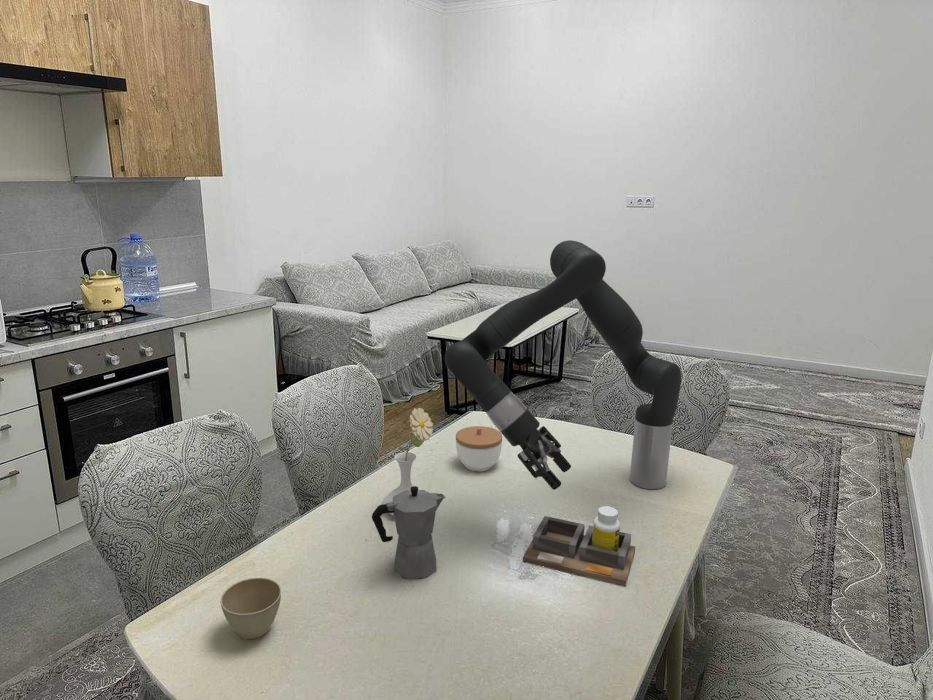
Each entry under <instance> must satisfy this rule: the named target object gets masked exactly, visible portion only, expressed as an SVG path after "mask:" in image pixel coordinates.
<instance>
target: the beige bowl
mask: <svg viewBox="0 0 933 700" xmlns="http://www.w3.org/2000/svg"><path fill="white" fill-rule="evenodd" d="M281 598H282V588H281V586H280V584H279V583H278V582H277V581H275V580H274V579H272V578H266V577H251V578H246V579H243V580H239V581H237V582H235V583H234V584H232V585H229V587H227V588H226V589H225V590H224V591H223V593H222V595H221V597H220V607H221V610H222V613H223V615H224V617H225V619H226V621H227V623H228V625H229V626H230V627H231V629H232V630H233V631H234V632H235V633H236V634H237V635H238V636H239V637H241V638H242V639H246V640H255V639H258V638H261V637H263V636H264V635H265V634H266V633H268V631H269V630H270V628H271V626H272V624H273V623H274V621H275V619H276V617H277V614H278V611H279V607H280V603H281Z"/></svg>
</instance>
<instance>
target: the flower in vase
mask: <svg viewBox="0 0 933 700" xmlns="http://www.w3.org/2000/svg"><path fill="white" fill-rule="evenodd" d="M409 423H410V428H411V433H412V434H411V437H410V441H409V444H408V447H402V446H401V445H400V446H398V450H403V451H404V452H400V453H396V454H395V455H394V460H395V461H396V462H397V463H398V465H399V471H400V484H399V486H397V487H395V488H394V489H393V490H391V491H390V492H389V493H387V495H385V496H384V498H383V500H382V503H381V505H383V504H386V503H389V502H392V501H393V496H395V495H397V494H400V493H402V492H404V491H406V490H411V489H410V488H411V487H412V486H414V485H413V484H412V481H411V480H412V479H411V471H412V467H413V466H412V465H413V463H414V461H415V460H416V458H417V455H416V454H415V453H413V452H409V451H410V449H411V445H413V446H414V447H416V448H419V447H421V446H422V445H423V444H424V441H430V436H433V432H434V429H433V428H432V427H434V423H433V422H432V419H431V417H430V416H429V413H428V412H425V411H424V409H423V408H422V407H421V408H420V407H418V408H415V407H414V409H413V410H412V411H411V414H410V416H409ZM418 490H420V489H419V488H418ZM387 514H389V515H390V516H393V517H394V513H387Z"/></svg>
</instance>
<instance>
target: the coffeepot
mask: <svg viewBox="0 0 933 700" xmlns="http://www.w3.org/2000/svg"><path fill="white" fill-rule="evenodd" d="M410 489H411V490H406V491H404V492H402V493H400V494H397V495H395V496H393V501H392V502H389V503H386V504H383V505H382V504H379V505H377V507H376V508H375V510H374V511H373V512H372V514H371V519H372V522H373V524H374V526H375V529H376V530H377V533H378V535H379V537H380V539H381V542H382V543H388V542H392V541H393V537H394V536H393V535H390V536H387V530H386V528H385V526H384V522H383V519H382V517H381V516H382V515H383V514H388V513H394V516H393V517H394V522H395V523H394V524H395V528H396V534H397V535H398V537H397V543H396V549H395V550H396V551H395V554H394V562H393V563H394V565H393V572H394V573H395V574H397V575H398V576H399V577H401V578H404V579H407V580H421V579H422V580H423V579H424V578H428V577H429V576H431V575H433V574H434V572H435V571H437V557H436V556H437V555H436V552H435V547H434V540H433V535H432V534H433V531H434V524H435V519H436V513H437V510H438V508H439V507H440V505H441V504H442V502H443V500H444V499H446V496H445V495H444V494H442V493H439V492H429V491H427V490H425V489H419V487H418V486H417V485H416V486H415V485H413V486H412V487H411V488H410ZM418 489H419V490H418Z"/></svg>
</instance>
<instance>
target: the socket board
mask: <svg viewBox="0 0 933 700" xmlns="http://www.w3.org/2000/svg"><path fill="white" fill-rule="evenodd" d="M585 526H586V525H585V524H584V523H580V522H575V521H571V520H566V519H561V518H556V517H552V516H548V515H547V516H546V515H544V516H543V518H542V519H541V522H540V523H539V525H538V526H537V528H536V530H535V531H534V534H533V535H532V540H531V542H530V543H529V545H528V546H527V549H526V550H525V552H524V554H523V556H522V562H523V563H526V562H527V564H530V563H531V565H534V564H535V566H539V565H540V566H539V567H543V566H544V568H547V569H551V570H556V571H559V572H560V571H561V572H563V573H568V574H573V575H577V576H580V577H584V578H588V579H589V578H590V579H593V580H596V581H602V582H605V583H610V584H612V585H613V584H614V585H618V586H622V587H627V586H626V585H627V581H628V578H629V574H630V571H631V567H632V563H633V560H634V556H635V553H636V546H634V545H631V542H632V534H631V533H628V532H627V533H626V532H621V531H619V541H618V551H617V552H615V551H611V550H606V549H602V548H597V547H593V546H592V535H593V525H590V524H589V525H588V526H587V530H586V531H585Z"/></svg>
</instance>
